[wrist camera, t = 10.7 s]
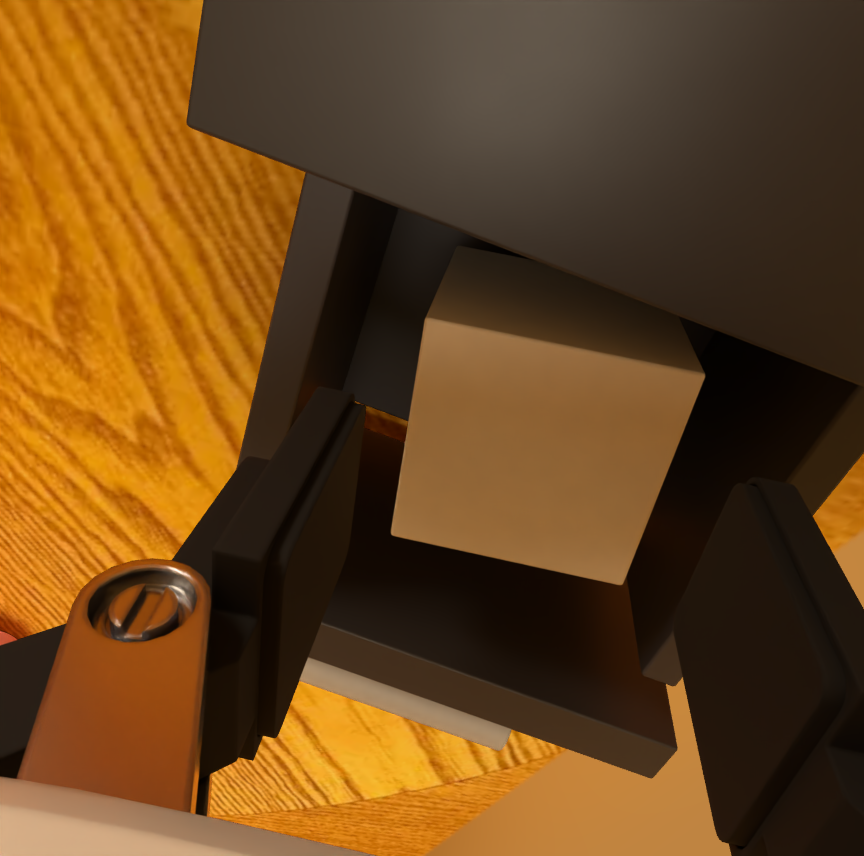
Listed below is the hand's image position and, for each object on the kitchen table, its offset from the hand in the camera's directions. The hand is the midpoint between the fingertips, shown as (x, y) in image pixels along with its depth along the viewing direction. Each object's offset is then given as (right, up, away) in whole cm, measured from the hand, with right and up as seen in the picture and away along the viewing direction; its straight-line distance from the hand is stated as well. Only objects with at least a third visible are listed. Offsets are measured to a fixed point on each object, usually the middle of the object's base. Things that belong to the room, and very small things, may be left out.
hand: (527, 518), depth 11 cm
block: (+1, +3, +5) cm, 6 cm away
